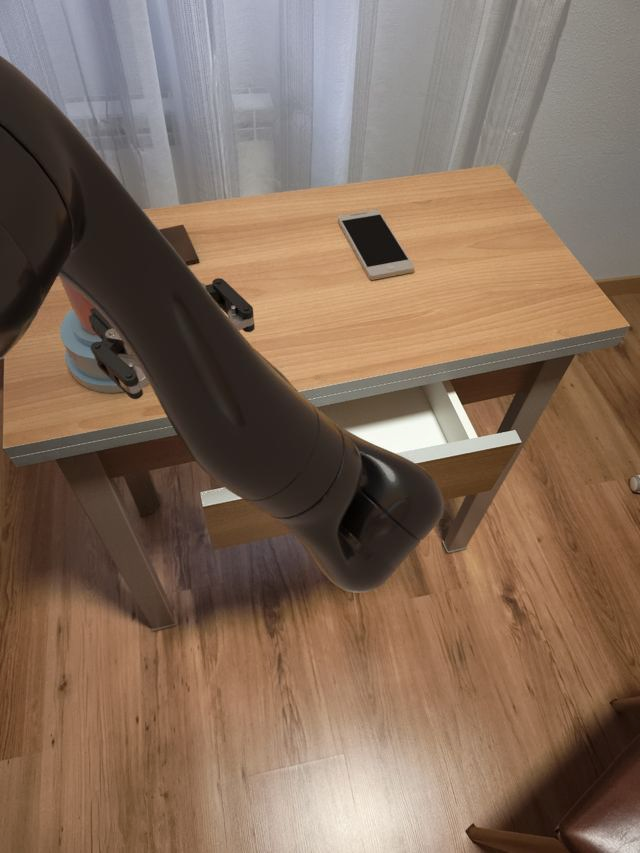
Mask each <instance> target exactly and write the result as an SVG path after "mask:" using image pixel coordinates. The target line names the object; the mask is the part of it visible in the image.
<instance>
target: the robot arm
mask: <svg viewBox="0 0 640 853" xmlns="http://www.w3.org/2000/svg"><path fill="white" fill-rule="evenodd" d="M57 278H59V279H60V278H61V279H63V280H64V281H65V282H67V283H68V284H69V285H71V286H72V287H73V288H74V289H76V290H77V291H78V292H79V293H80V294H81V295H83V296H84V297H85V298H86V299H87V300H88V301H89V302H90V303H91V304H92V305H93V306H94V308H92V309H90V312H91V314H92V315H91V316H89V321H90V323H91V326H92V328H93V330H94V332H95V333H96V334H97V335H98V336H99V337H100V338H101V339H102V341H101V342H95V343H93V344H92V345H91V347H90V348H91V351H92V353H93V354H94V356H95V359H96V361H97V364H98V367H99V368H100V369H101V370H102V371H103V372H104V373H105V374H106V375H107V376H108V377H109V378H110V379H111V380H112V381H113V382H114V383H115V384H117V385H118V386H119V387H120V388H121V389H122V390H123V391H124V392H123V393H125V394H126V395H127V396H128V397H129V398H130V399H132V400H138V399H140V398H142V396H143V395H144V391H143V388H145V387H146V386H149V385H150V387H151V389H152V391H153V392H154V395H155V396H156V398H157V400H158V402H159V404H160V406H161V408H162V410H163V412H164V413H165V415H166V417H167V419H168V421H169V422H170V424H171V426H172V428H173V430H174V431H175V434H176V435H177V437H178V438H179V440H180V441H181V443H182V445H183V446H184V447H185V449H186V450H187V451H188V453H189V454H190V456H191V457H192V458H193V460H194V461H195V462H196V463H197V464H198V466H200V468H201V469H202V470H203V471H204V472H205V473H206V474H207V475H208V476H209V477H210V478H212V479H213V480H214V481H215V482H216V483H218V484H219V485H220V486H222V487H223V488H224V489H226V490H228V491H229V492H231V493H232V494H234V495H235V496H237V497H239V498H240V499H242V500H244V501H245V502H247V503H249V504H250V505H251V506H253V507H255V508H257V509H258V510H259V511H262V512H264V513H265V514H267V515H269V516H270V517H271V518H274V520H276V521H278V522H279V523H280V524H281V525H283V526H284V527H285V528H286V529H287V530H289V532H291V533H292V535H293V536H294V537H296V539H297V540H298V541H299V542H300V544H301V545H302V546H303V547H304V549H305V550H306V552H307V554H308V555H309V557H310V558H311V559H312V561H313V562H314V563H315V565H316V566H317V568H318V569H319V570H320V571H321V572H322V574H323V575H324V576H325V577H326V578H327V580H329V581H330V582H331V583H333V585H334V586H336V587H338V588H339V589H341V590H342V591H346V592H349V593H355V594H363V593H369V592H372V591H374V590H376V589H378V588H380V587H381V586H383V585H384V584H385V583H386V582H387V581H388V580H389V579H390V577H391V576H392V575H393V574H394V573H396V571H397V569H398V568H399V567H400V566H401V565H402V563H403V562H404V561H405V560H406V559H407V558H408V557H410V555H411V554H412V553H413V551H415V549H416V548H417V547H418V546H419V545H420V544H421V542H422V541H423V540H425V538H426V537H427V536H428V535H429V534H430V533H431V532H432V530H433V529H434V528H435V527H436V526H437V525H438V524H439V522H440V520H441V519H442V517H443V514H444V510H445V502H444V496H443V494H442V491H441V488H440V486H439V484H438V483H437V482H436V480H435V478H434V477H433V476H432V475H431V473H429V472H428V471H427V470H425V468H423V467H422V466H420V465H419V464H417V463H416V462H414V461H412V460H410V459H409V458H407V457H404V456H403V455H400V454H397V453H395V452H393V451H391V450H388V449H386V448H384V447H381V446H378V445H376V444H374V443H372V442H370V441H368V440H366V439H364V438H361V437H360V436H358V435H356V434H354V433H352V432H350V431H348V430H347V429H345V428H343V427H342V426H340V425H339V424H338V423H336V422H335V421H333V420H332V419H331V418H330V417H329V416H327V415H326V414H325V413H324V412H323V411H321V410H320V409H319V408H318V407H317V406H316V405H314V403H312V402H311V401H310V400H309V399H308V398H307V397H306V396H305V395H303V394H302V393H301V392H300V391H298V389H297V388H296V387H294V386H293V384H292V382H291V381H289V380H288V378H287V377H286V375H284V374H283V372H282V371H280V370H279V369H278V368H277V367H276V366H275V365H274V364H272V363H271V362H270V361H269V360H268V359H266V358H265V356H264V355H262V354H261V353H260V352H259V351H258V350H257V349H255V348H254V347H253V346H252V344H251V343H250V342H249V341H248V340H247V339H246V338H245V336H244V335H243V334H242V333H241V332H240V331H241V330H242V331H243V332H244V333H252V332H253V331H254V330H255V329H256V326H255V315H254V307H253V306H252V305H251V304H250V303H249V302H248V301H247V300H246V299H245V298H244V297H242V295H241V294H239V292H238V291H237V290H235V289H234V288H233V287H232V286H231V285H230V284H229V283H228V282H227V281H226V280H225V279H223V278H222V277H221V278H220V277H218V278H215V279H213V280H212V282H211V283H209V284H205V283H203V282H201V281H200V279H199V278H198V276H196V275H195V273H194V272H193V270H191V269H190V267H189V265H186V263H185V262H184V261H183V259H182V258H181V257H180V256H179V254H178V253H177V252H176V251H175V249H174V248H173V247H172V246H171V244H170V243H169V242H168V241H167V239H166V238H165V237H164V236H163V235H162V233H161V232H160V231H159V229H158V227H157V226H156V225H155V223H154V222H153V221H152V220H151V219H150V217H149V216H148V215H147V213H146V212H145V211H144V209H143V208H142V207H141V206H140V205H139V204H138V202H137V201H136V199H135V198H134V197H133V195H132V194H131V193H130V192H129V191H128V189H127V188H126V187H125V186H124V184H123V183H122V182H121V180H120V179H119V178H118V177H117V175H116V174H115V173H114V172H113V170H112V169H111V168H110V166H109V165H108V164H107V162H106V161H105V160H104V159H103V157H101V155H100V153H98V152H97V150H96V149H95V148H94V147H93V146H92V144H91V143H90V142H89V140H88V139H87V138H86V137H85V136H84V135H83V133H82V132H81V131H80V130H79V129H78V127H76V126H75V124H74V123H73V122H72V121H71V120H70V118H69V117H68V116H67V115H66V114H65V113H64V112H63V111H62V110H61V109H60V108H59V107H58V105H57V104H56V103H54V101H53V100H52V99H51V98H50V97H49V96H48V95H47V94H46V93H45V92H44V91H43V90H42V89H40V87H38V86H37V84H35V82H33V81H32V79H30V78H29V77H28V76H27V75H26V74H25V73H24V72H23V71H22V70H20V69H19V68H18V67H16V65H14V64H13V63H11V62H10V61H9V60H8V59H6V58H4V57H3V56H2V55H0V360H1V359H3V358H4V357H6V356H7V354H8V353H9V352H11V351H12V350H13V349H14V347H15V346H16V345H17V344H18V343H19V342H20V341H21V339H22V338H23V337H24V335H25V334H26V333H27V331H28V330H29V328H30V326H31V325H32V323H33V321H34V320H35V318H36V317H37V316H38V313H39V310H40V308H41V307H42V305H43V303H44V302H45V300H46V298H47V296H48V294H49V292H50V291H51V289H52V287H53V285H54V284H55V282H56V280H57ZM119 357H123V358H130V359H134V360H135V361H136V362H137V363H138V365H139V366H140V367H138V366H136V365H134V364H133V363H129V364H128V365H127V364H126V363H125V362H124V361H123V360H122V359H120V358H119Z"/></svg>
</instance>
